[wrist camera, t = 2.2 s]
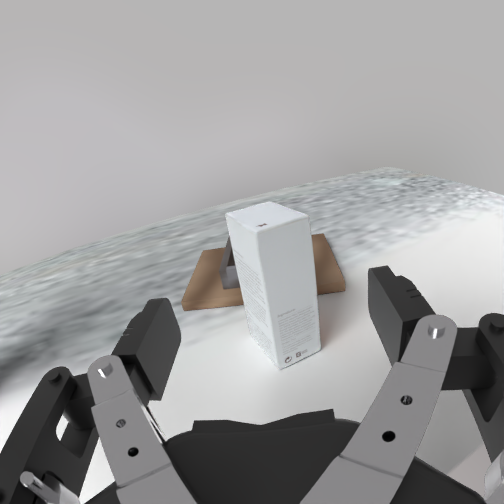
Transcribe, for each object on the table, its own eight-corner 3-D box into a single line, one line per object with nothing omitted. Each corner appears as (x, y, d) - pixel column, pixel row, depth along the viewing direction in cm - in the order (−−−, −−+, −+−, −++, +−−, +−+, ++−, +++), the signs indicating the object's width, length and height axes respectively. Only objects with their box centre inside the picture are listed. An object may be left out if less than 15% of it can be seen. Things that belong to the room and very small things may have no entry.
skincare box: (323, 350, 25) (312, 214, 20) (279, 372, 24) (254, 233, 19) (288, 317, 30) (270, 199, 26) (249, 334, 29) (222, 213, 24)
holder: (184, 310, 35) (175, 283, 33) (204, 257, 47) (199, 236, 46) (345, 290, 33) (344, 260, 31) (324, 241, 46) (321, 217, 44)
